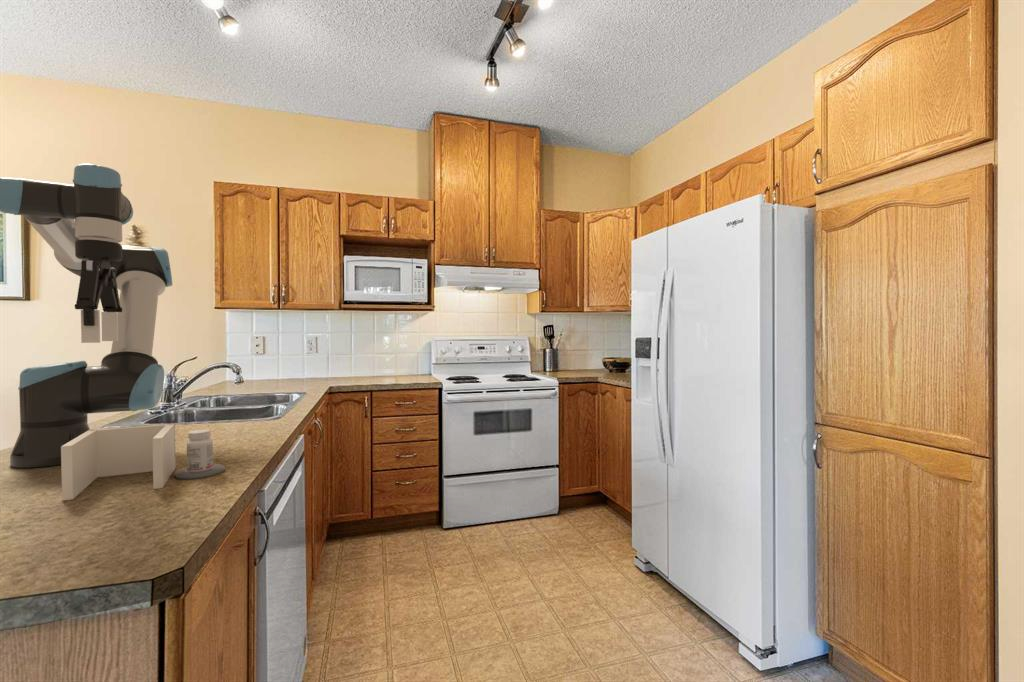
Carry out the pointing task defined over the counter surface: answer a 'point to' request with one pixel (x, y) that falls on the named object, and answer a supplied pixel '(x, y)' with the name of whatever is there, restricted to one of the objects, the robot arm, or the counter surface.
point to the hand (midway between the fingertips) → (101, 342)
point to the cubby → (117, 456)
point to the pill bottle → (199, 451)
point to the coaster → (199, 473)
